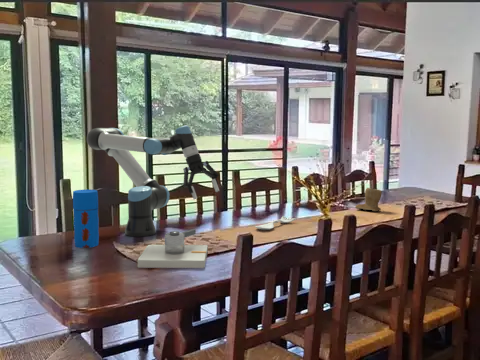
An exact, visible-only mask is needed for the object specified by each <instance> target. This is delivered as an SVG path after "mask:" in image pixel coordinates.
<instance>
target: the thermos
mask: <svg viewBox="0 0 480 360" xmlns="http://www.w3.org/2000/svg"><path fill="white" fill-rule="evenodd" d="M72 213H73V214H72V215H73V238H74V239H73V240H74V247H75V248H79V249H89V248H94V247H95V248H96V247H97V246H99V242H100V228H99V227H100V223H99V222H100V221H99V220H100V219H99V218H100V217H99V192H98V190H97V189H78V190H77V189H76V190H73V191H72Z"/></svg>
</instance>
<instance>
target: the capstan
mask: <svg viewBox="0 0 480 360" xmlns="http://www.w3.org/2000/svg"><path fill="white" fill-rule="evenodd" d="M193 235H196V229H195V228H191V229H189V230H185V231H181V232H180V231H177V230H174V231H173V230H172V231H170V232H166V233H165V234H164V245H165V253H167V254H181V253H184V245H185V238H188V237H191V236H193Z"/></svg>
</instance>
